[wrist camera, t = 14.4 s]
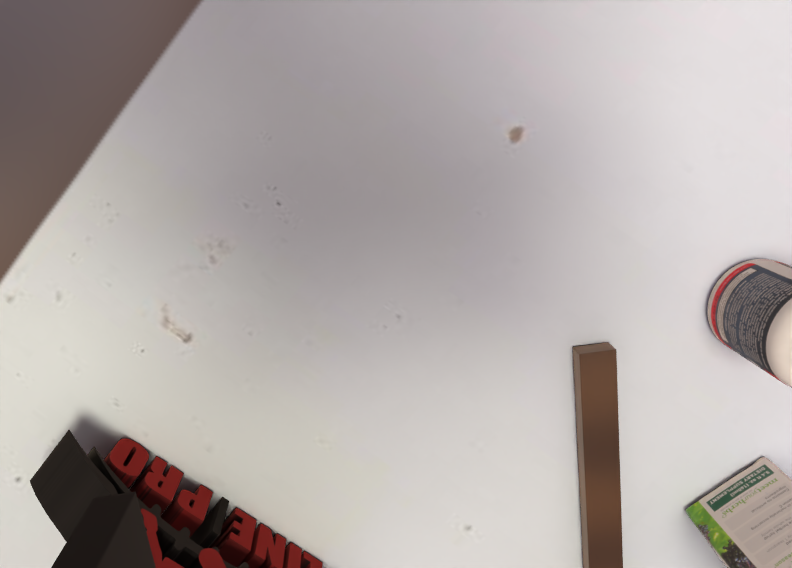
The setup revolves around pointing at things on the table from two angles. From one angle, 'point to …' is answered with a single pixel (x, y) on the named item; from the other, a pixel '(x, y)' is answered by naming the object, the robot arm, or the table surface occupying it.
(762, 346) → the pill bottle
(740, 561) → the syrup box
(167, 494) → the logo sign
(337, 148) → the table surface
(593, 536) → the strip
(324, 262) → the table surface
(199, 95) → the table surface
